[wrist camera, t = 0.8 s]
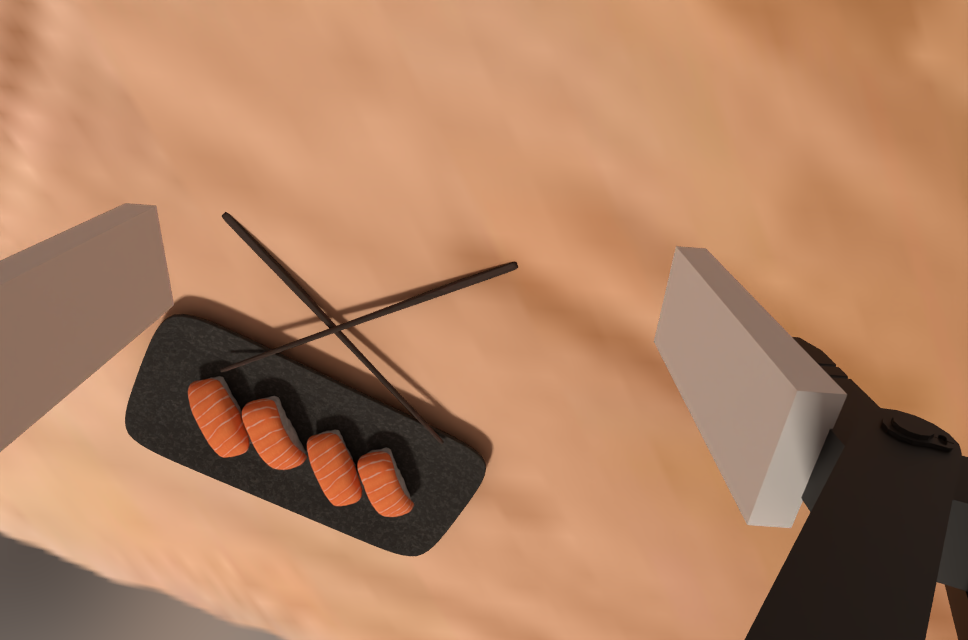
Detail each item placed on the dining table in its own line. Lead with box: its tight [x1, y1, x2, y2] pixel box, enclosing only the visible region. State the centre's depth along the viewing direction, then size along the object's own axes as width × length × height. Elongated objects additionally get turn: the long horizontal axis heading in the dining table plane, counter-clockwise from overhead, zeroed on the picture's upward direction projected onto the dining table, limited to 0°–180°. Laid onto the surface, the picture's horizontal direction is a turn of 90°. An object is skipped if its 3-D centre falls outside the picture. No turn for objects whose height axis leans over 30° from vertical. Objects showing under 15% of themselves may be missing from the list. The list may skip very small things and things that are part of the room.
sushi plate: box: [125, 212, 518, 556], centre depth 46 cm, size 29×30×4 cm
